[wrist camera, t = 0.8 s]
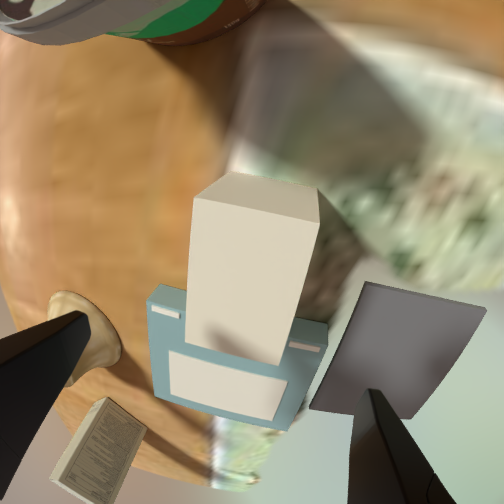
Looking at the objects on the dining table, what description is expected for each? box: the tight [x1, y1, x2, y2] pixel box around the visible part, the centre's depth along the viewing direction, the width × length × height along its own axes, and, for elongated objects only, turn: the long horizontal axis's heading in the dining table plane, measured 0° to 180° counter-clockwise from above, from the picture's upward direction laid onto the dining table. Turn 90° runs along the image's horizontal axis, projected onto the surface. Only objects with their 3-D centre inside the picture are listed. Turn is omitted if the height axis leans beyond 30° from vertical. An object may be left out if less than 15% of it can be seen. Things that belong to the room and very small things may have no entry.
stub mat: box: [309, 281, 487, 419], centre depth 19 cm, size 10×12×1 cm
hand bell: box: [47, 291, 121, 387], centre depth 16 cm, size 8×8×16 cm
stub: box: [185, 171, 320, 366], centre depth 15 cm, size 4×7×6 cm, turn 170°
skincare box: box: [49, 397, 147, 504], centre depth 24 cm, size 6×4×12 cm
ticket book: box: [146, 284, 328, 431], centre depth 20 cm, size 11×10×2 cm
